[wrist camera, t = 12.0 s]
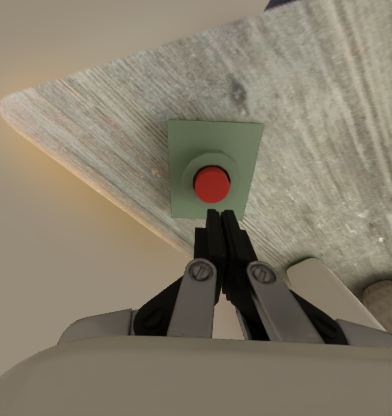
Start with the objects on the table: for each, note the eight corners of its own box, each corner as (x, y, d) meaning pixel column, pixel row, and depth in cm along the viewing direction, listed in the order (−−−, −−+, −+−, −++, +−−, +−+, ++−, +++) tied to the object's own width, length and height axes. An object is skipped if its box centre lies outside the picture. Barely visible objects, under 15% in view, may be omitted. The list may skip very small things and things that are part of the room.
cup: (315, 248, 27) (418, 367, 14) (331, 269, 30) (431, 386, 17) (276, 267, 30) (334, 381, 17) (294, 285, 32) (356, 396, 19)
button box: (170, 119, 18) (162, 119, 15) (257, 122, 18) (271, 124, 14) (173, 209, 24) (169, 225, 21) (239, 212, 24) (245, 228, 20)
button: (196, 165, 17) (195, 170, 15) (229, 167, 17) (232, 172, 15) (194, 195, 19) (194, 202, 17) (224, 197, 19) (227, 204, 17)
